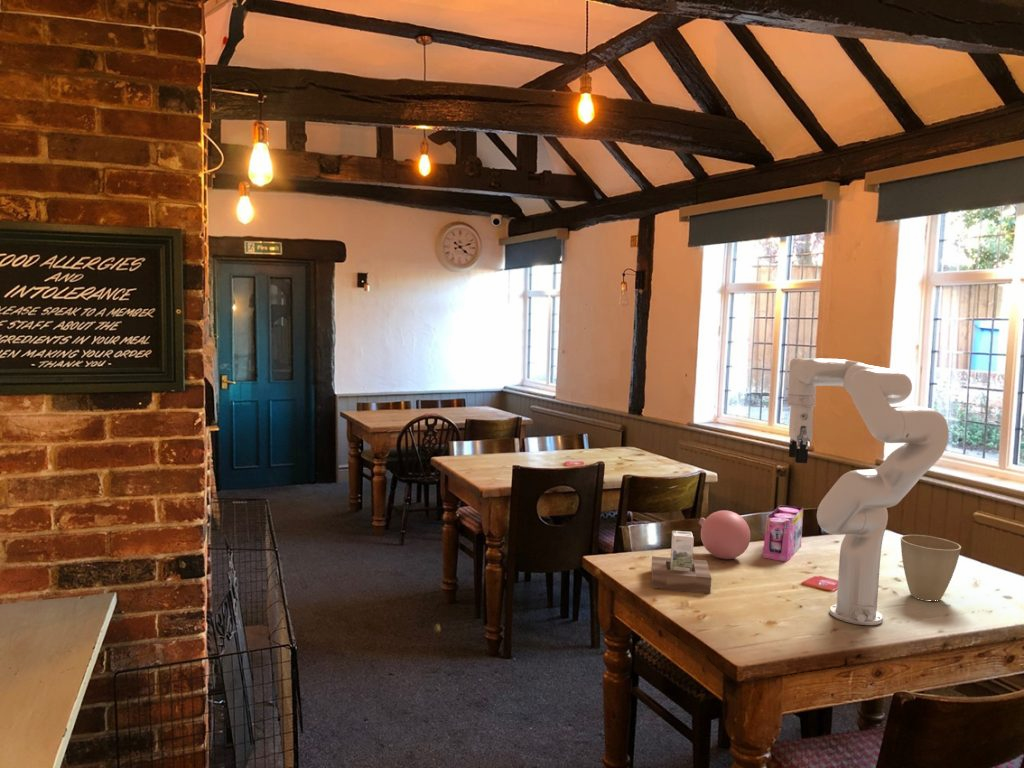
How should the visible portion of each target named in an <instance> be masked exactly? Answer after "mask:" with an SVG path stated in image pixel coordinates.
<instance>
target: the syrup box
mask: <svg viewBox="0 0 1024 768" xmlns="http://www.w3.org/2000/svg"><path fill="white" fill-rule="evenodd" d="M694 539H695V538H694V536H693V533H692V531H683V530H682V531H681V530H672V531H671V543H670V544H671V549H670V558H671V563H670V570H677V571H689V572H692V560H694V559H693V557H694V543H695V542H694V541H695V540H694Z"/></svg>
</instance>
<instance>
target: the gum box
mask: <svg viewBox="0 0 1024 768" xmlns="http://www.w3.org/2000/svg"><path fill="white" fill-rule="evenodd" d="M765 517H766V518H765V528H764V529H765V530H764V542H763V551H762V553H763V554H762V558H765V559H769V560H775V561H780V562H785V563H787V562H788V561H789V560H790V559H791V558H792V557H793V556H794V555H795V554H796V553H797V551H799V550H800V548H801V547H802V539H803V538H802V537H803V536H802V535H803V521H804V519H803V518H804V507H798V506H791V505H785V504H780V505H778V506H777V507H776V508H775V509H774V510H773V511H771V513H769V514H767V515H766V516H765Z"/></svg>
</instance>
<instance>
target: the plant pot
mask: <svg viewBox="0 0 1024 768" xmlns="http://www.w3.org/2000/svg"><path fill="white" fill-rule="evenodd" d="M900 549H901V551H900V552H901V559H902V566H903V570H904V576H905V579H906V580H905V581H906V584H907V587H908V591H909V593H910V596H911V595H912V596H914V597H916V598H919V599H923V600H931V601H935V600H936V601H937V600H940V599H941V600H942V598H943V596H944V595H945V592H946V591H947V588H948V587H949V584H950V582H951V580H952V578H953V575H954V573H955V570H956V567H957V565H958V561H959V557H960V554H961V550H962V546H961V545H960V544H959V543H957V542H955V541H951V540H948V539H945V538H940V537H936V536H931V535H923V534H907V535H906V534H905V535H902V536H900ZM912 596H911V597H912ZM914 597H913V598H914ZM916 598H915V599H916ZM919 599H918V600H919ZM941 600H940V601H941Z"/></svg>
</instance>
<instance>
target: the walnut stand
mask: <svg viewBox="0 0 1024 768" xmlns="http://www.w3.org/2000/svg"><path fill="white" fill-rule="evenodd" d="M670 563H671V557H665V556H655V555H653V556H651V569H650V570H651V572H652V574H651V589H653V588H660V589H659V590H664V589H668V590H667V591H675V590H679V591H678V592H686V591H689V593H700V594H711V591H712V590H711V589H712V575H711V571H710V568H709V563H708V561H707V560H704V559H703V560H701V559H693V560H692V572H689V571H677V570H670Z"/></svg>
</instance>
